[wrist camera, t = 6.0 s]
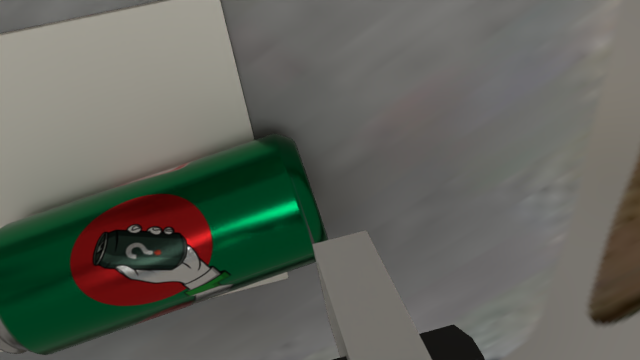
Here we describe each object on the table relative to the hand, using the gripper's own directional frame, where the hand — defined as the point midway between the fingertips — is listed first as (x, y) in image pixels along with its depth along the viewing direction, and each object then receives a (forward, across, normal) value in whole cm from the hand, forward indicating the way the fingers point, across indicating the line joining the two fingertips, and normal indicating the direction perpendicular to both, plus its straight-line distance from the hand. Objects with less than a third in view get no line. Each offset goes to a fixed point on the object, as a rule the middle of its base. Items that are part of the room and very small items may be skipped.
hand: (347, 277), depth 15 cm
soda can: (+6, 0, 0) cm, 6 cm away
